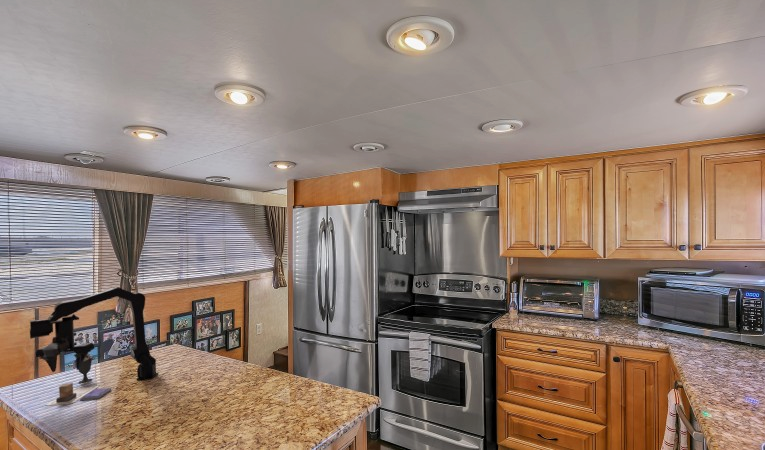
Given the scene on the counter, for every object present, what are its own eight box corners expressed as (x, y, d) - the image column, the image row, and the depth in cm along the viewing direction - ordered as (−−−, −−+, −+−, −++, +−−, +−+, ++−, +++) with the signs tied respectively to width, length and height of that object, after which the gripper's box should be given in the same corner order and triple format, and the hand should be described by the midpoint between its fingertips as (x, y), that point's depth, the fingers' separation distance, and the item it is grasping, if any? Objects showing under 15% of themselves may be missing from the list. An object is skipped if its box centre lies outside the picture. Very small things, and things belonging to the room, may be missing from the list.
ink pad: (111, 390, 155) (111, 387, 155) (98, 398, 147) (98, 395, 147) (93, 391, 155) (93, 389, 155) (80, 400, 147) (80, 397, 147)
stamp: (76, 396, 150) (75, 382, 150) (68, 401, 146) (67, 386, 146) (64, 397, 150) (64, 383, 150) (56, 402, 145) (55, 387, 146)
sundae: (84, 384, 163) (82, 351, 163) (72, 384, 165) (70, 351, 165) (98, 378, 170) (97, 346, 170) (86, 378, 171) (85, 346, 171)
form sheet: (99, 386, 160) (99, 385, 160) (72, 403, 144) (72, 402, 144) (75, 388, 159) (75, 387, 159) (45, 405, 143) (45, 405, 143)
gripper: (22, 340, 139) (23, 381, 139) (74, 336, 141) (76, 376, 141) (45, 332, 151) (47, 369, 150) (94, 328, 153) (95, 365, 152)
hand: (66, 370), depth 148 cm, fingers open, 9 cm apart
